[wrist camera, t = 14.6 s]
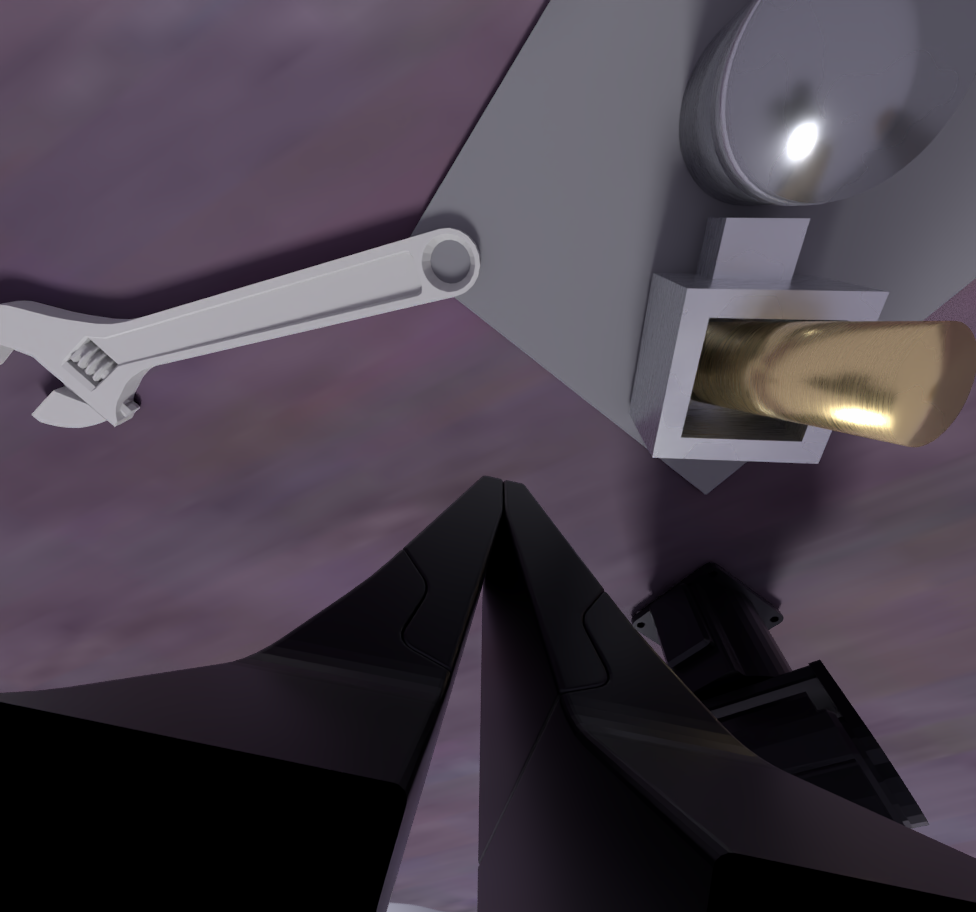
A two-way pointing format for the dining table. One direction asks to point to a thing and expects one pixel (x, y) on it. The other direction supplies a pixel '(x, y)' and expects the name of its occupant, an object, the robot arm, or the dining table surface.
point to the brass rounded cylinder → (842, 374)
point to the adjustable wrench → (216, 324)
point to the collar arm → (732, 298)
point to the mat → (656, 201)
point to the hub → (823, 96)
